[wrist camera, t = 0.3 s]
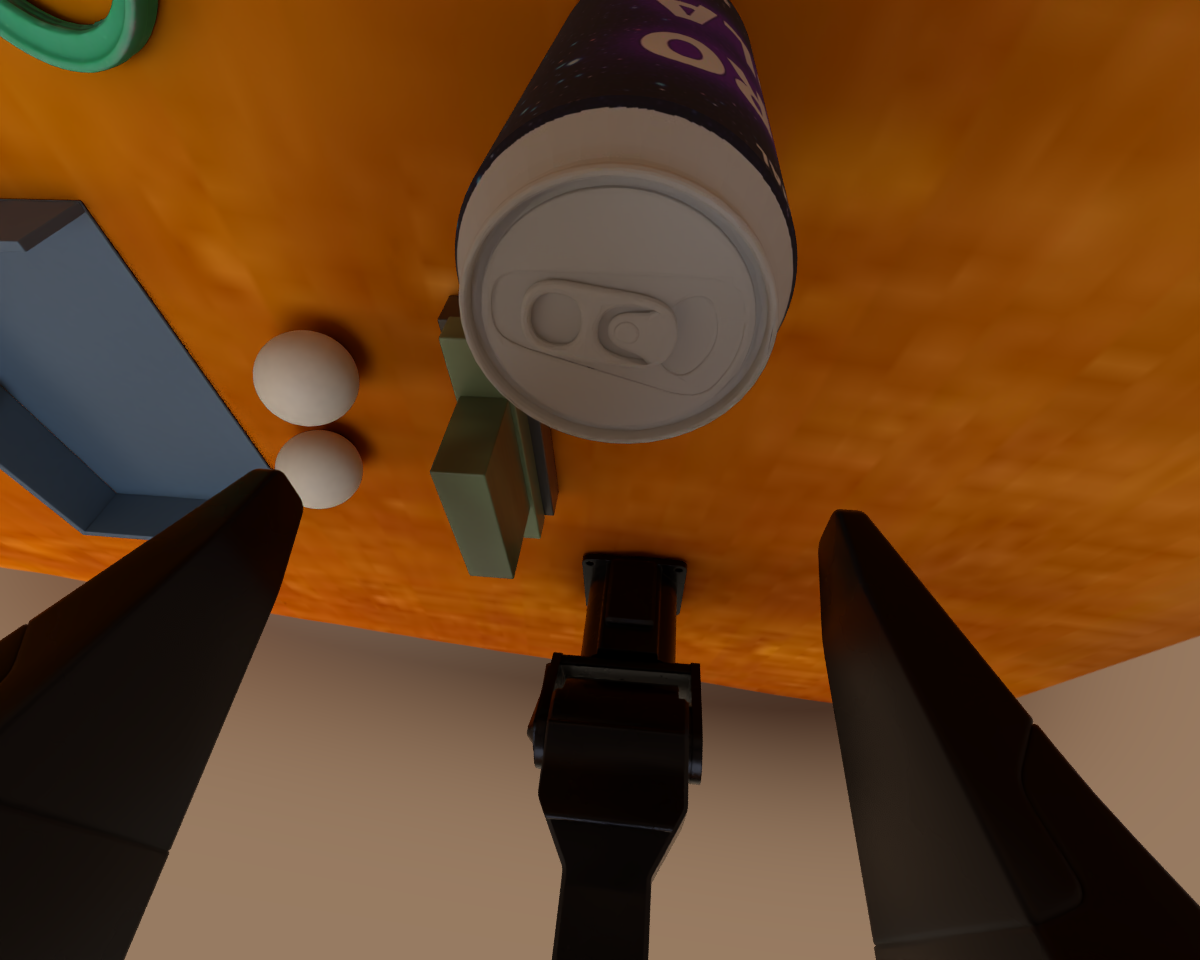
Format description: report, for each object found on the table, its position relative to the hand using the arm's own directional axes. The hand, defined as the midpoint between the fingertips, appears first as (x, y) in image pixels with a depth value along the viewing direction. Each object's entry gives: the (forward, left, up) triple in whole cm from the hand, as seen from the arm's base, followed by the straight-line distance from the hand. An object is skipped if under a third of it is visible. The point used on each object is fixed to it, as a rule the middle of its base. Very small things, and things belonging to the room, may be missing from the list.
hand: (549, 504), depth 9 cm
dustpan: (-11, +31, -14) cm, 36 cm away
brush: (-11, +5, -14) cm, 18 cm away
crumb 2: (-14, +15, -14) cm, 25 cm away
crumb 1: (-8, +13, -14) cm, 21 cm away
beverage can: (+2, -1, -14) cm, 14 cm away
